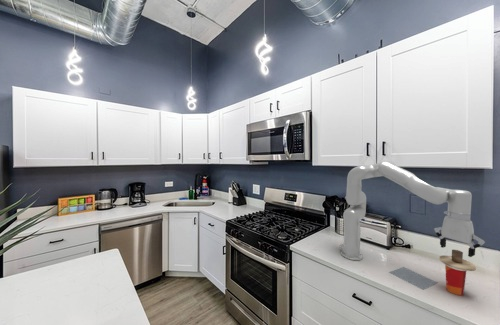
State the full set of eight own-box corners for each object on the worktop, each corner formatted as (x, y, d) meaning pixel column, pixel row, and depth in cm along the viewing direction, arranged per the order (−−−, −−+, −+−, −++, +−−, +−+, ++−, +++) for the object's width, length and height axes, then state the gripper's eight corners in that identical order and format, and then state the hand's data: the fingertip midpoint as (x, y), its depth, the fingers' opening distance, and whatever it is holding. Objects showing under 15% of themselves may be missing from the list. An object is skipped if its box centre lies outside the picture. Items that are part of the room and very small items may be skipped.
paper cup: (453, 287, 99) (454, 259, 99) (471, 297, 91) (472, 268, 91) (438, 287, 99) (439, 259, 98) (455, 298, 91) (456, 268, 91)
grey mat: (388, 273, 111) (388, 272, 110) (403, 267, 116) (403, 266, 116) (423, 290, 96) (423, 289, 96) (438, 283, 102) (438, 282, 102)
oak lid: (434, 260, 98) (434, 248, 97) (446, 255, 103) (446, 244, 102) (469, 273, 87) (469, 259, 87) (480, 267, 92) (481, 254, 92)
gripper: (431, 211, 100) (429, 245, 101) (482, 222, 85) (479, 262, 85) (439, 210, 104) (437, 242, 104) (489, 220, 88) (486, 258, 88)
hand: (456, 251), depth 95 cm, fingers open, 9 cm apart
